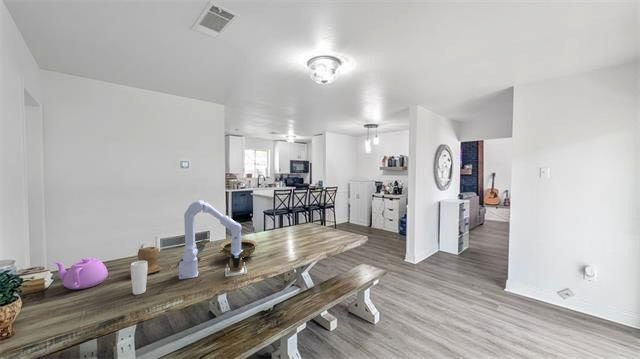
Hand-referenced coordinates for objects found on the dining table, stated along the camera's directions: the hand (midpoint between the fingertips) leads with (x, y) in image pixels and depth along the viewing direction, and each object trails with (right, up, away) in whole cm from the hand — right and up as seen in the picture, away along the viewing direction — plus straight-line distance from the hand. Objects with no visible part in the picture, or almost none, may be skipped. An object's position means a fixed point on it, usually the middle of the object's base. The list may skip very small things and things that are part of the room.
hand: (236, 265), depth 149 cm
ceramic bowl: (-6, -3, +25) cm, 26 cm away
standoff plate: (0, -4, 0) cm, 4 cm away
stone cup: (-52, -3, -4) cm, 52 cm away
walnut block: (0, -2, 0) cm, 2 cm away
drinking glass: (-39, -4, -26) cm, 47 cm away
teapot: (-75, -3, -20) cm, 78 cm away
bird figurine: (-34, -3, +17) cm, 38 cm away
